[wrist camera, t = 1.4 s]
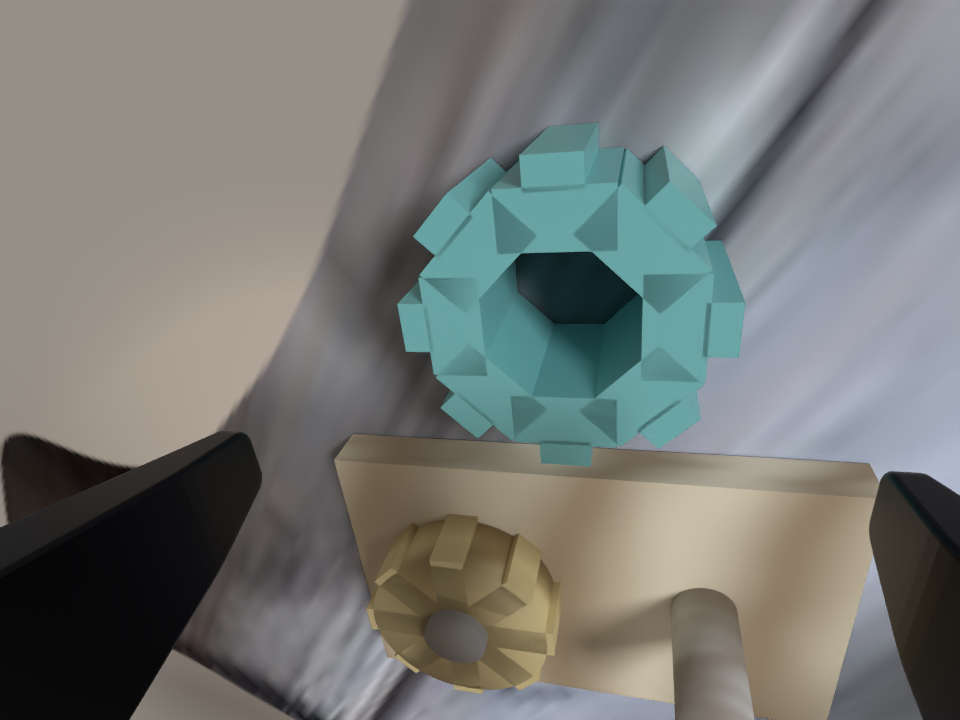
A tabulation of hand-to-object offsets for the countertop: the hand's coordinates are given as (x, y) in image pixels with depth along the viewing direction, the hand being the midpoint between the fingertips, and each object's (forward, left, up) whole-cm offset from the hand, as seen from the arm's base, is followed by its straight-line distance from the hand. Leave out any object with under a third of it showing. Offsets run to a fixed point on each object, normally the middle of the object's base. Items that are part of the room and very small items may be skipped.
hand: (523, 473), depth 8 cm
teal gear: (0, 0, -9) cm, 9 cm away
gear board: (0, +11, -9) cm, 14 cm away
